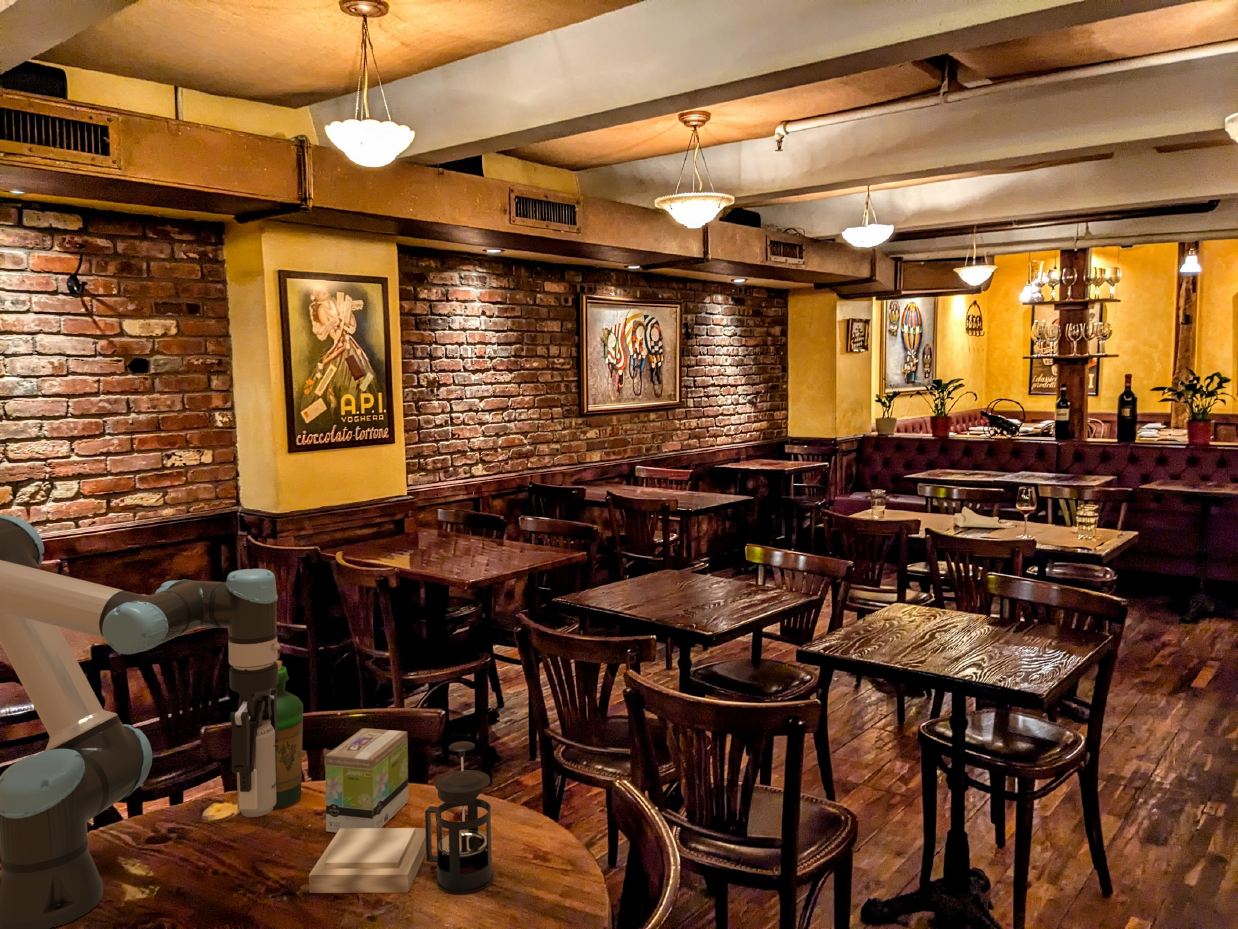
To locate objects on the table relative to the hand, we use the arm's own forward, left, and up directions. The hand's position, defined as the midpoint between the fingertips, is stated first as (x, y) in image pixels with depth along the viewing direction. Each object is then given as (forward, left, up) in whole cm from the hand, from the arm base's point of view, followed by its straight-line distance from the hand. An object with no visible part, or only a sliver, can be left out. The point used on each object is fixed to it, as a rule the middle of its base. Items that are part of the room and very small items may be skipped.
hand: (256, 799), depth 155 cm
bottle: (-7, +28, -13) cm, 32 cm away
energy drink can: (0, 0, -2) cm, 2 cm away
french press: (+35, -2, -13) cm, 37 cm away
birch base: (+19, +2, -13) cm, 23 cm away
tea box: (+13, +21, -13) cm, 28 cm away
